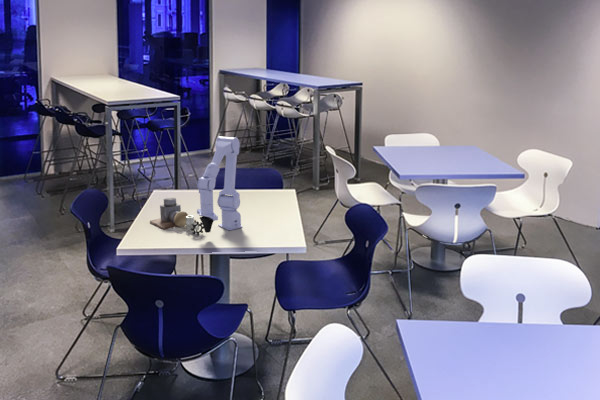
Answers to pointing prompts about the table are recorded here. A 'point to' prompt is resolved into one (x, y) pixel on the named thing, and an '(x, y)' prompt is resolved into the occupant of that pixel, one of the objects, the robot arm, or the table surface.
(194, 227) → the valve
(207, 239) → the table surface
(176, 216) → the pipe stand
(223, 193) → the robot arm
